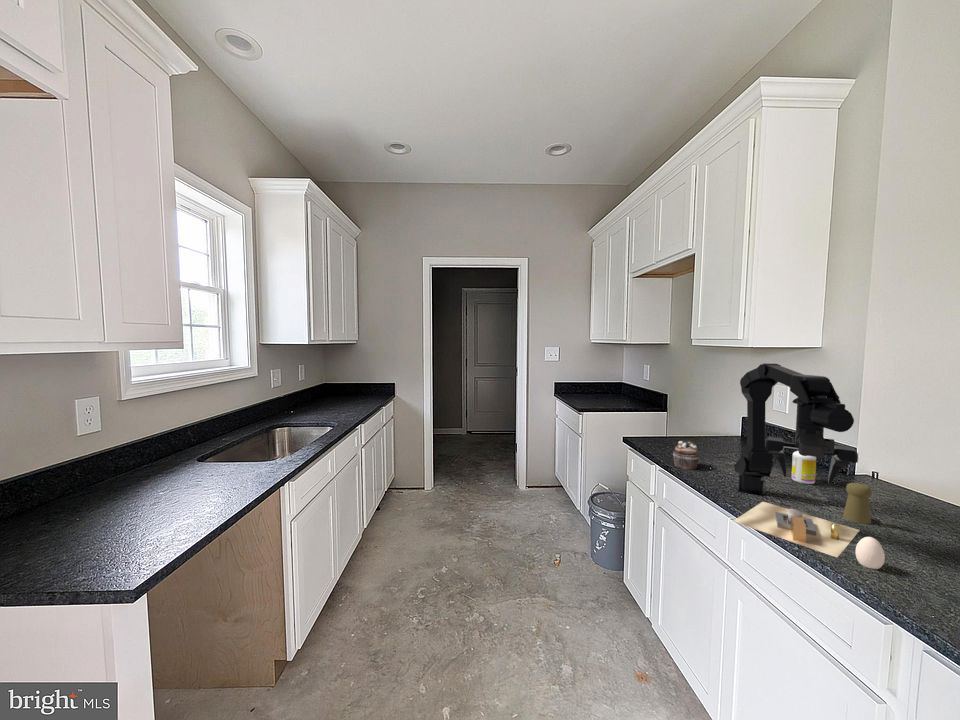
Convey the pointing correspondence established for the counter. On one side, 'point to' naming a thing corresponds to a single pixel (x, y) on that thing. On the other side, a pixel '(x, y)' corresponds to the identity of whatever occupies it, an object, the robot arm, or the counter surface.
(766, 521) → the board
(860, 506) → the cork
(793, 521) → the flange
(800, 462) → the supplement bottle
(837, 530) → the dowel pin
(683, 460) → the cupcake
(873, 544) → the egg
